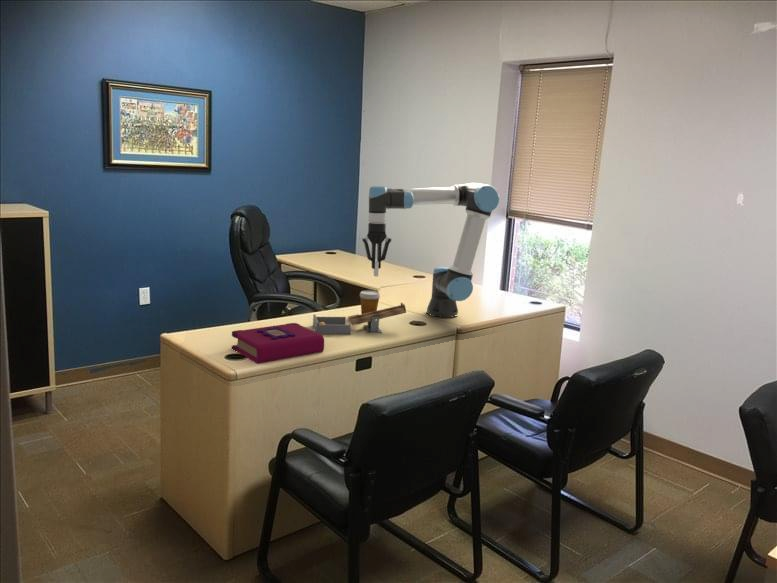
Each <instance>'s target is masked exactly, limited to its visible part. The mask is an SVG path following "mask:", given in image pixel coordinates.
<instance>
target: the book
mask: <svg viewBox="0 0 777 583" xmlns="http://www.w3.org/2000/svg"><path fill="white" fill-rule="evenodd" d="M231 337H233V338H234V339H237V343H236V344H233V345H231V350H232V349H233V350H232V351H234V350H235V351H234V352H236V351H237V352H236V353H238V354H239V353H240V354H239V355H241V354H242V355H241V356H243V355H244V356H243V357H244V358H246V357H247V359H248V358H249V359H248V360H250V361H252V362H253V361H254V362H253V363H255V364H262V363H268V362H273V361H278V360H283V359H284V360H285V359H291V358H294V357H301V356H306V355H311V354H317V353H323V352H324V349H325V337H324V334H319V333H317V332H315V330H312V329H309V328H307V327H306V326H303V325H301V324H300V323H297V322H290V323H285V324H277V325H270V326H264V327H254V328H249V329H240V330H233V331H231Z"/></svg>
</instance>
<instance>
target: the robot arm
mask: <svg viewBox="0 0 777 583" xmlns="http://www.w3.org/2000/svg"><path fill="white" fill-rule="evenodd" d="M499 194H500V193H499V191H498V190H497V189H496V188H495V186H492V185H490V184H486V183H478V182H470V183H464V184H453V186H450V187H449V186H448V187H447V186H446V187H419V188H418V187H416V188H415V187H414V188H387V187H386V186H382V185H381V186H379V185H378V186H377V185H376V186H375V185H374V186H370V187H369V191H368V222H369V223H368V224H367V225H368V226H367V227H368V228H367V229H368V230H367V235H366V236H365V237H362V239H361V241H362V242H363V244H364V249H365V253H366V254H365V255H366V257H367V259H368V260H369V261H371V269H372V270H373V276H374V277H379V270H380V269H381V266H382V261H385V260H386V257H387V253H388V250H389V246H390V243H391V242H392V238H390V237H389V236H387V233H386V230H387V229H386V227H387V225H386V224H387V223H386V221H387V210H388V209H389V210H390V209H396V210H397V209H400V210H402V209H404V210H407V209H411V208H413V206H423V205H424V206H427V205H453V206H458V207H459V206H461V207H465V209H464V210H465V212H466V214H467V215H466V218H465V222H464V226H463V227H462V232H461V234H460V235H461V236H460V239H459V243H458V246H457V250H456V254H455V255H454V256H455V257H454V260H453V264H452V265H451V266H449V267H448V266H447V267H445V266H444V267H443V266H441V267H439V266H438V267H435V268H433V272H432V284H431V285H432V287H431V296H430V297H431V298H430V301H429V302H428V304H427V308H426V314H427V313H428V314H427V315H429V314H431V315H434V316H433V317H435V316H441V317H440V318H442V317H451V316H455V315H457V314H458V315H459V309H458V306H457V305H458V304H457V302H464V301H465V300H467V299H469V297H471V295H472V293H473V290H474V285H473V283H472V279H473V276H474V273H473V271H472V267H473V264H474V260H475V258H476V254H477V250H478V247H479V244H480V242H481V241H480V240H481V237H482V234H483V230H484V227H485V223H486V220H488V219H489V218H491V215H492V211H494V210H495V209H496V208H498V205H499V203H500V195H499ZM384 241H385V242H384ZM368 242H370V243H371V250H370V247H369V243H368ZM383 242H384V245H383V244H382V243H383ZM382 245H383V246H384V247H383V248H382ZM376 246H377V250H376ZM382 249H383V250H382ZM376 251H377V252H376ZM376 253H377V254H376ZM376 258H377V259H376ZM431 315H430V316H431Z"/></svg>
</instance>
